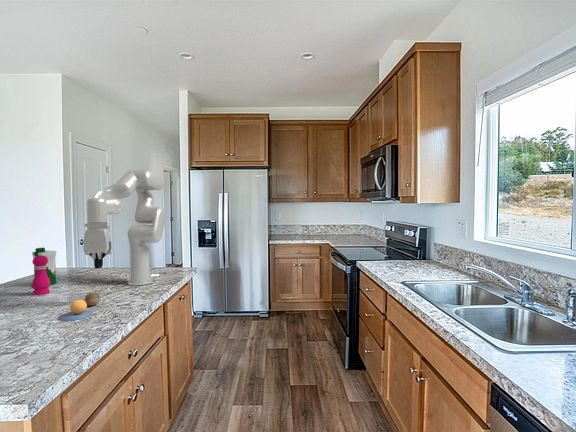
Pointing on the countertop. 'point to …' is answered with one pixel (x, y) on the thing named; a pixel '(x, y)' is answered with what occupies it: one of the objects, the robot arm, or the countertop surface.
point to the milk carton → (50, 265)
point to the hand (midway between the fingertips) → (98, 267)
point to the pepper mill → (40, 275)
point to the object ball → (78, 306)
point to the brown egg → (92, 299)
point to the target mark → (74, 316)
